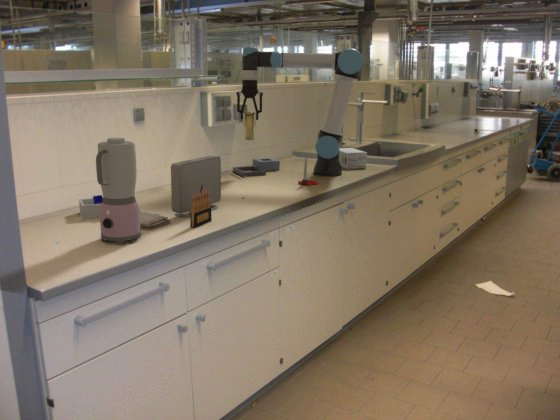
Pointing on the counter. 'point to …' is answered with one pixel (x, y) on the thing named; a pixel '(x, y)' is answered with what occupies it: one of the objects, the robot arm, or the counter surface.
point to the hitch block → (267, 164)
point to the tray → (241, 170)
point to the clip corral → (89, 208)
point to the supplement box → (352, 158)
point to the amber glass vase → (249, 125)
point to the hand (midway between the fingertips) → (249, 126)
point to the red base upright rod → (304, 181)
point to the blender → (118, 190)
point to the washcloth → (152, 220)
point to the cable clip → (98, 199)
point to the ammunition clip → (200, 209)
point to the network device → (195, 182)
